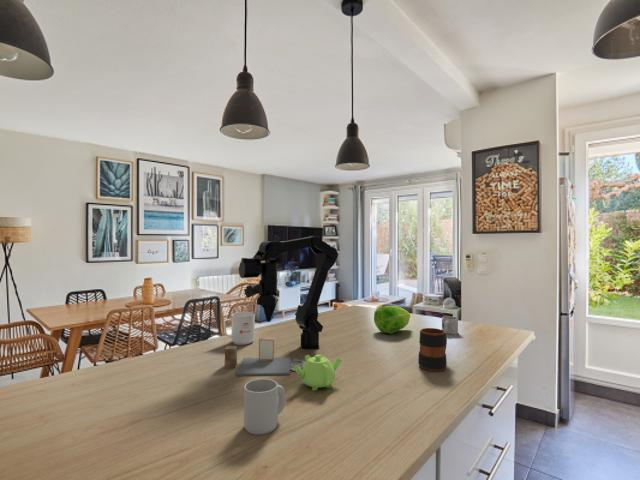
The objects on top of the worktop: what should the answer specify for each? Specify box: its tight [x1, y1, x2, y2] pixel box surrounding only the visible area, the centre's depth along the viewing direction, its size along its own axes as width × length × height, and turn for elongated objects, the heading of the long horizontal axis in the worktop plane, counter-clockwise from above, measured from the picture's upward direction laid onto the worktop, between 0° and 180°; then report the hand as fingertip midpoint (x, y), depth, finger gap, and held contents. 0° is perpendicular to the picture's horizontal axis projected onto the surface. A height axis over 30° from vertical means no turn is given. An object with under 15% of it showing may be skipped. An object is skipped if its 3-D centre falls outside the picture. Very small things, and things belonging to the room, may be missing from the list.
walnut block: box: [224, 345, 238, 369], centre depth 113 cm, size 3×3×6 cm
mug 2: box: [417, 327, 448, 372], centre depth 114 cm, size 9×12×12 cm
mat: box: [235, 356, 292, 377], centre depth 112 cm, size 16×14×1 cm
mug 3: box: [441, 315, 459, 336], centre depth 154 cm, size 10×7×7 cm
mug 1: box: [223, 311, 256, 346], centre depth 139 cm, size 12×9×11 cm
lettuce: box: [373, 305, 411, 335], centre depth 157 cm, size 14×20×12 cm
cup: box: [243, 378, 287, 436], centre depth 78 cm, size 7×10×9 cm
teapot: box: [293, 353, 342, 392], centre depth 99 cm, size 11×12×8 cm
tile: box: [258, 337, 275, 361], centre depth 117 cm, size 5×2×7 cm, turn 93°
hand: (268, 320), depth 124 cm, fingers open, 3 cm apart
